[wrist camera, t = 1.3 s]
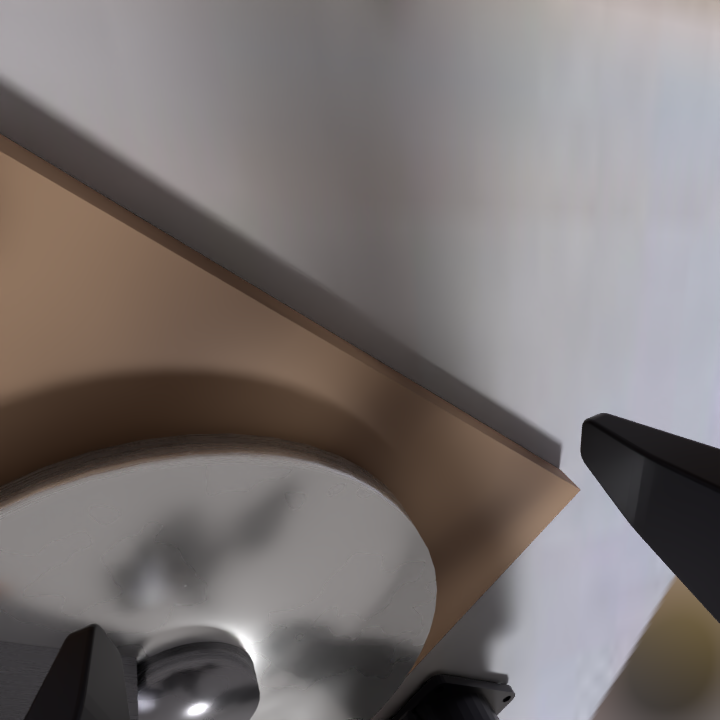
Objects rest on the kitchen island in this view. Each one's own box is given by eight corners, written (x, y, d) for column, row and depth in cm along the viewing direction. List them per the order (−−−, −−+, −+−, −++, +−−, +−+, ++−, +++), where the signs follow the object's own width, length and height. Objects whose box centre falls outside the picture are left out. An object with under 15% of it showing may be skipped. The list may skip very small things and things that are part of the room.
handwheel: (505, 528, 20) (585, 631, 16) (249, 808, 23) (272, 943, 19) (-173, 231, 9) (-347, 352, 6) (-483, 835, 12) (-717, 1148, 9)
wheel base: (560, 469, 22) (580, 489, 21) (256, 801, 26) (262, 831, 25) (-32, 114, 10) (-47, 123, 9) (-417, 821, 14) (-456, 878, 13)
